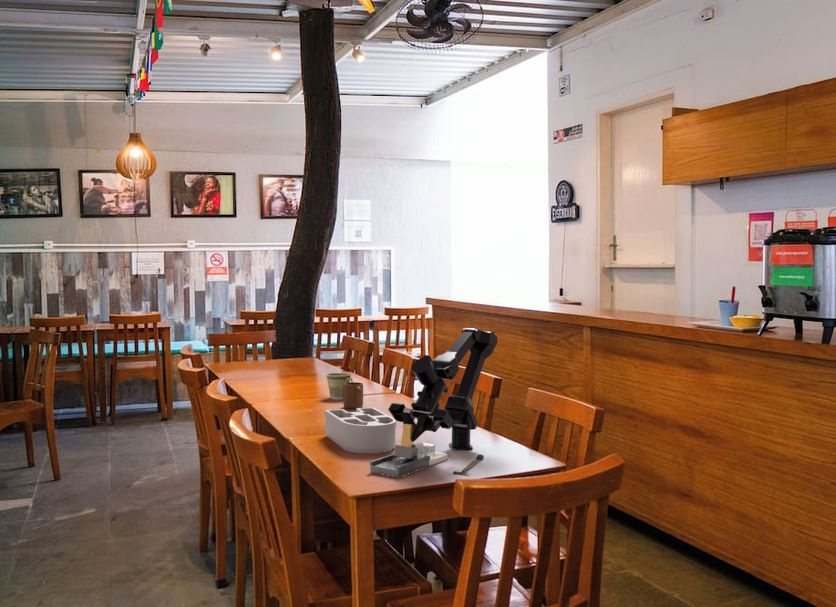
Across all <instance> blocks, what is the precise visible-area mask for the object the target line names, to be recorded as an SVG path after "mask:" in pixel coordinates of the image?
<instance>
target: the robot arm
mask: <svg viewBox="0 0 836 607" xmlns="http://www.w3.org/2000/svg"><path fill="white" fill-rule="evenodd" d="M498 341H499V340H498V336H497V335H496V333H495V332H494V331H486V330H481V329H478V328H474V327H473V328H472V327H471V328H470V327H466V328H462V330H461V334H460V335H459V336H458V337H457V338H456V339H455V341H454V342H453V344H452V345H451V346H450V347H449V348H448V349H447V351H446V352H444V353H442V354H439V355H437V356H436V357H434V359H432V356H431V355H425V354H424V355H423V356H422V358H419V359H417V360H416V361H414V362H413V363H412V366H411V370H412V372H413V374H414V375H415V377H416V378H417V380H418V382H419V383H420V384H421V385H423V387H422V389H421V391H419V390H418V391H417V392H416V395H417V398H416V401H415V402H412V403H411V405H410V406H411V408H410V407H406V405H405V404H404V403H401V402H400V403H399V402H398V403H397V402H392V403H391V404H390V405H389V407H388V409H387V410H388V411H389V413H390V415H391V417H392V418H394V419H395V420H396V422H399V423H402V426H403V425H404V424H410V425H416V426H415V429H414V432H413V435H412V438H411V440H412V442H416V441H417V440H418V439H419V438H420V436H422V435H423V434H424V433H425V432H427V431H429V432H432V433H436V432H437V431H438V430H439V429H440V428H441V429H445V430H446V429H448V430H450V429H451V443H448V446H449V448H451V450H473V449H474V447H473V445H471V431H472V430H476V429H477V428H478V422H479V421H478V419H477V417H476V416H475V414H474V409H475V408H474V405H473V396H474V394H475V390H476V388H477V386H478V382H479V378H480V375H481V373H482V370H483V367H484V364H485V362H486V359H487V358H488V357H489V356H491V355H492V354H493V353H494V351H495V349H496V346H497V345H498ZM469 351H470V353H469ZM467 353H469V357H468V360H467V363H466V366H465V369H464V371H463V375H462V376H461V381H460V383H459V386H458V388H457V392H456V393H455V394H454V395H449V396H448V398H447V401H446V403H445V406H444V409H443V408H440V406H441V405H440V403H439V401H440V399H441V397H442V395H443V393H448V392H449V389H448V386H447V383H446V382H445V380H449V381H452V380H454V379H455V378H456V376H457V375H458V372H459V371H460V367H459V366H460V363H461V361H462V360H463V359H464V357H465V356H466V355H467ZM415 419H416V420H417V422H415Z"/></svg>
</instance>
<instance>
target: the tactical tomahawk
mask: <svg viewBox="0 0 836 607" xmlns="http://www.w3.org/2000/svg"><path fill="white" fill-rule="evenodd" d="M483 458H484V454H481V453H480V454H478V455H476V457H475V459H473V460H472V461H471V462H470V463H469V464H467V465H466V466H465V467H463V469H462V470H461V471H457V470H454V471H453V472H452V473H453V475H459V476H465V477H470V475H471V474H469V472H468V471H470V470H471V469H472V468H474V466H476V464H478V463H479V462H481V461H482V460H483Z"/></svg>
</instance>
